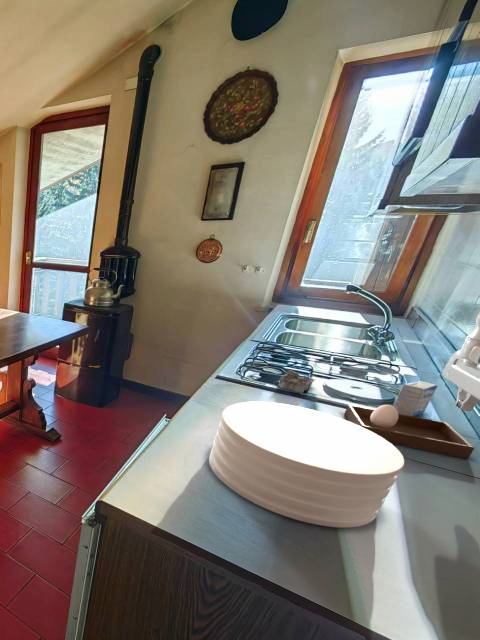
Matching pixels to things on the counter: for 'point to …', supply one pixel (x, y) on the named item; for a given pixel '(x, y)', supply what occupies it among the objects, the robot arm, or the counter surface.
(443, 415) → the counter surface
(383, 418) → the egg
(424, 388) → the medicine box
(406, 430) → the tray
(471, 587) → the counter surface
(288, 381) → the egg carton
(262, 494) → the plate stack
